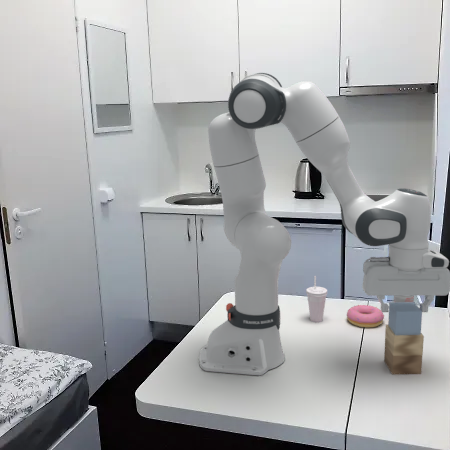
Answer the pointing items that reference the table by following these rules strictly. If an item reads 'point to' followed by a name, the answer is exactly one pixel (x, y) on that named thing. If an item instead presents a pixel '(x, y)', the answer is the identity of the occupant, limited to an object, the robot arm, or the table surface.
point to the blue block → (405, 318)
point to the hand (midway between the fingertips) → (403, 311)
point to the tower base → (403, 363)
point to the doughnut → (365, 316)
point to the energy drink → (403, 299)
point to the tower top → (403, 343)
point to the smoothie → (316, 302)
